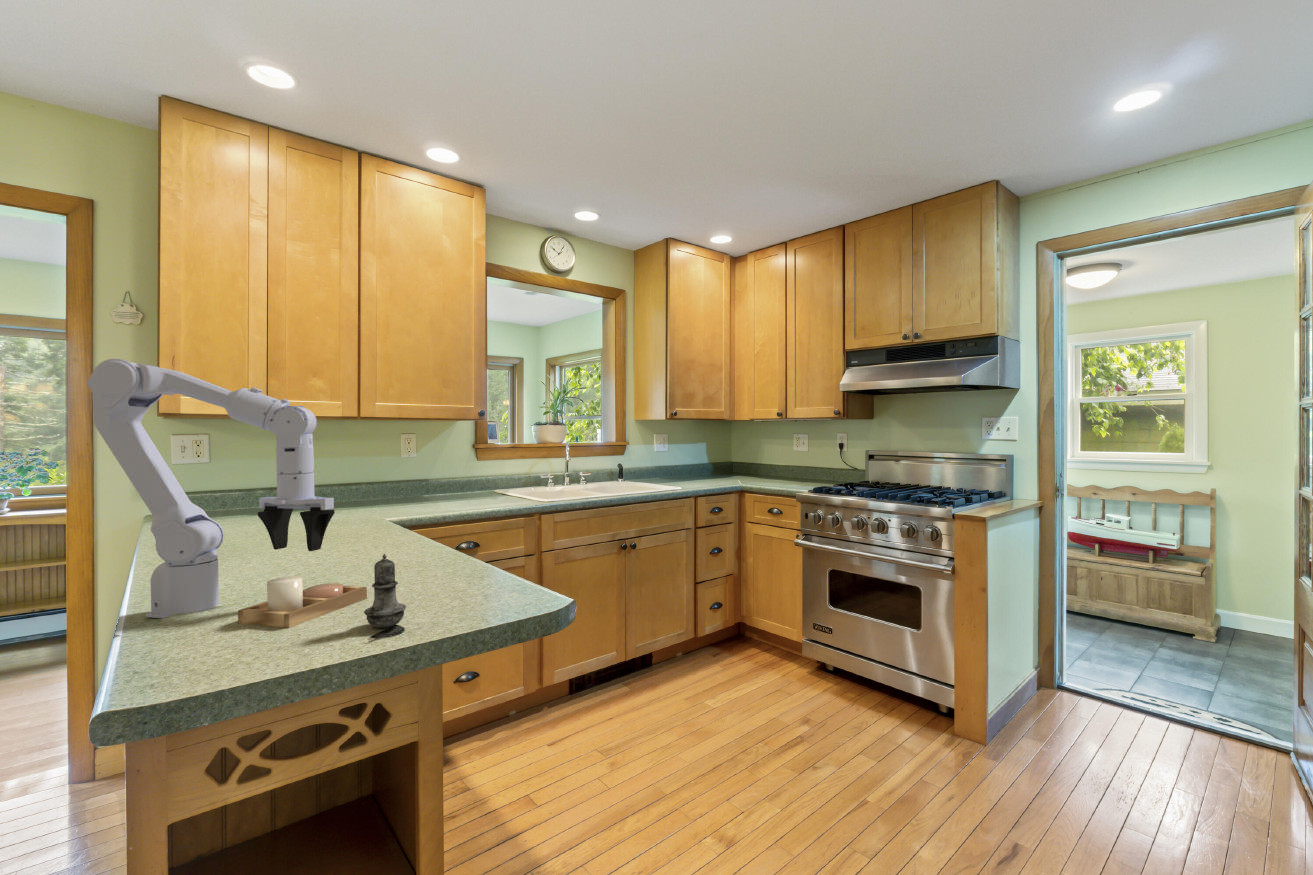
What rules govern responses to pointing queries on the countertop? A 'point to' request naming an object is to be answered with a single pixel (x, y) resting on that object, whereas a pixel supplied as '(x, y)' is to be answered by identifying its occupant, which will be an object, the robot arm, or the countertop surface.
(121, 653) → the countertop surface
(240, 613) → the tray
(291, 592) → the cream cylinder
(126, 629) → the countertop surface
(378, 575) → the salt shaker
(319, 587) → the pinkish tan dome
